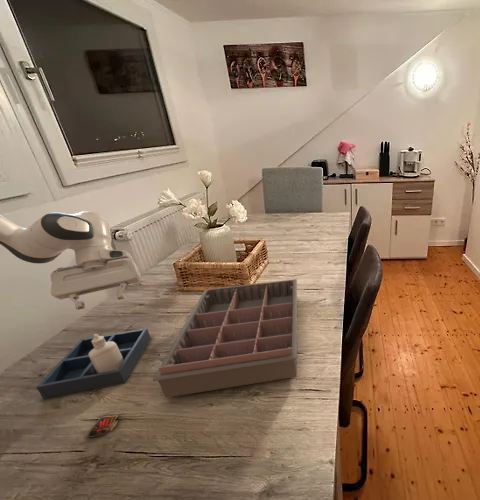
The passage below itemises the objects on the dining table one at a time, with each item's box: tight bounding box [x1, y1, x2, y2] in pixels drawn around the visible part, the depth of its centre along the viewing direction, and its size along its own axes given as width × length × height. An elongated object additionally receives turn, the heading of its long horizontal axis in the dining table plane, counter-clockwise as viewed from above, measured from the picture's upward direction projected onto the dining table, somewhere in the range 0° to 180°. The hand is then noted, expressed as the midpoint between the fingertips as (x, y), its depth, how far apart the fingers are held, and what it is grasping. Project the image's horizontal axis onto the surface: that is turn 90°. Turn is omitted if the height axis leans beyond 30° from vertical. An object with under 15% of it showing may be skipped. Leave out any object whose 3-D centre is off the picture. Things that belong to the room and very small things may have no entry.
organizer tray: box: [152, 278, 298, 399], centre depth 84 cm, size 32×40×10 cm
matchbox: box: [87, 414, 119, 438], centre depth 61 cm, size 5×5×1 cm
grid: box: [36, 327, 152, 400], centre depth 77 cm, size 17×17×4 cm
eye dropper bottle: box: [88, 333, 124, 373], centre depth 73 cm, size 4×6×12 cm
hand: (101, 303), depth 82 cm, fingers open, 8 cm apart
